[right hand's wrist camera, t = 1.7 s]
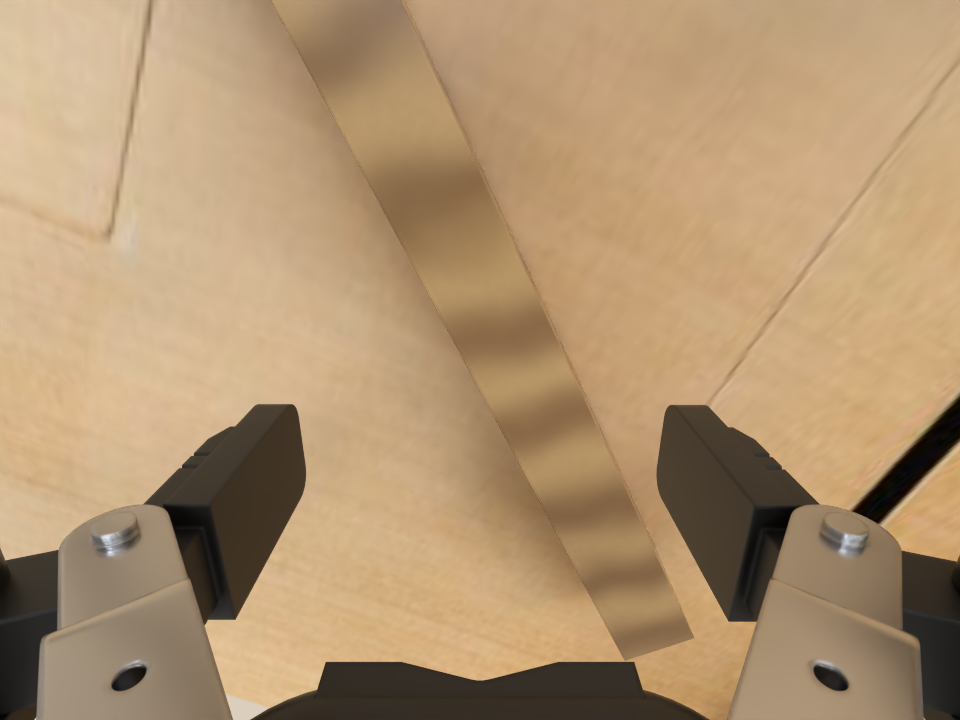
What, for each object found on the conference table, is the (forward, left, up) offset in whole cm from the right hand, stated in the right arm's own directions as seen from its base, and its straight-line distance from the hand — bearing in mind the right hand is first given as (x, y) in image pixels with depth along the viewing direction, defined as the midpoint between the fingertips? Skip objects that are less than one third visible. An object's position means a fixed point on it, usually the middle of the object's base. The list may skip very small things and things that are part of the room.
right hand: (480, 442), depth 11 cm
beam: (+7, -13, -19) cm, 24 cm away
